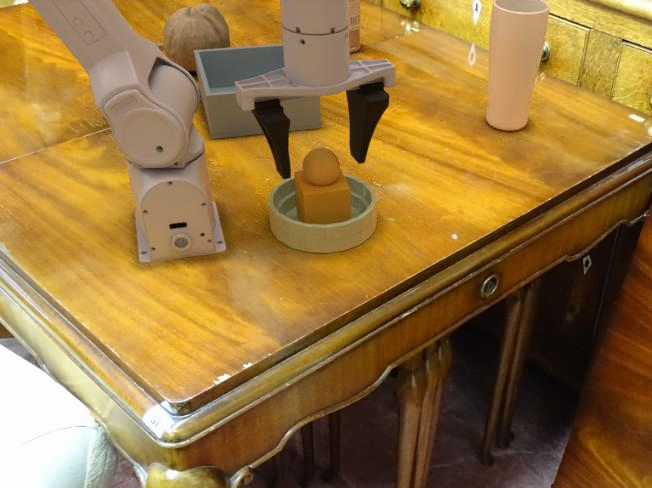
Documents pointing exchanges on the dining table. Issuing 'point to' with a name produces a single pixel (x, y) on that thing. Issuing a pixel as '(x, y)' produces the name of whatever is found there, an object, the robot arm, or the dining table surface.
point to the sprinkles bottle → (354, 25)
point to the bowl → (320, 235)
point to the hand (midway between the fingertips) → (321, 166)
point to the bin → (220, 95)
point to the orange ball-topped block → (322, 189)
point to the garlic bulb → (194, 34)
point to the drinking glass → (514, 60)
